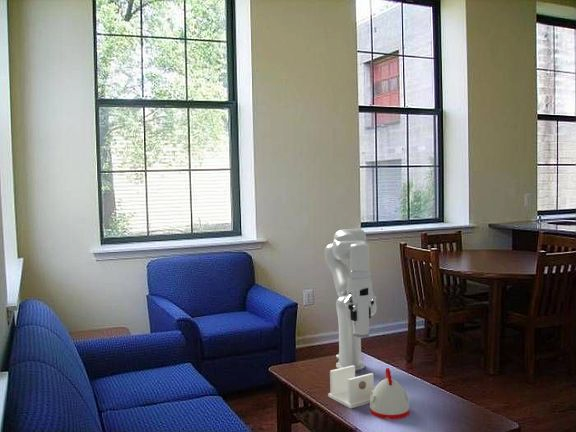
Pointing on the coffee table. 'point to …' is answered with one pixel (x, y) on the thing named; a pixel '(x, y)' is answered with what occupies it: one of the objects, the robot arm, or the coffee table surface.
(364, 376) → the holder
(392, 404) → the kitchen timer
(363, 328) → the travel mug
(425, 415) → the coffee table surface
